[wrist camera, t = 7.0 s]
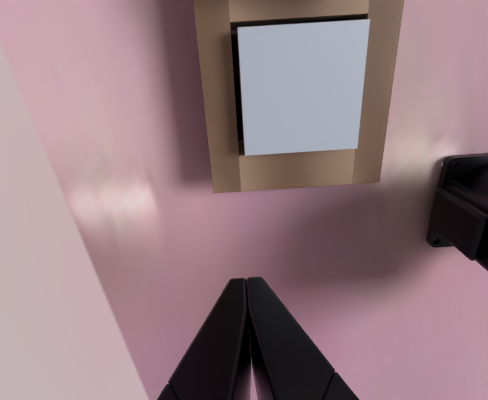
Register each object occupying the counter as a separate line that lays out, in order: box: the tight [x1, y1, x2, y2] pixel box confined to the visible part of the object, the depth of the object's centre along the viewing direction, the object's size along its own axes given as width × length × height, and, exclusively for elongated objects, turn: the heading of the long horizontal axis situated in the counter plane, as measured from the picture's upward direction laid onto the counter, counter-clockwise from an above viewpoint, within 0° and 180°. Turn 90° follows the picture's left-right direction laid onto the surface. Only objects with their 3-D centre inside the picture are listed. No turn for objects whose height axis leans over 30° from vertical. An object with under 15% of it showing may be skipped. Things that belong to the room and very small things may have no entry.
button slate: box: [237, 19, 370, 156], centre depth 15 cm, size 5×5×4 cm
